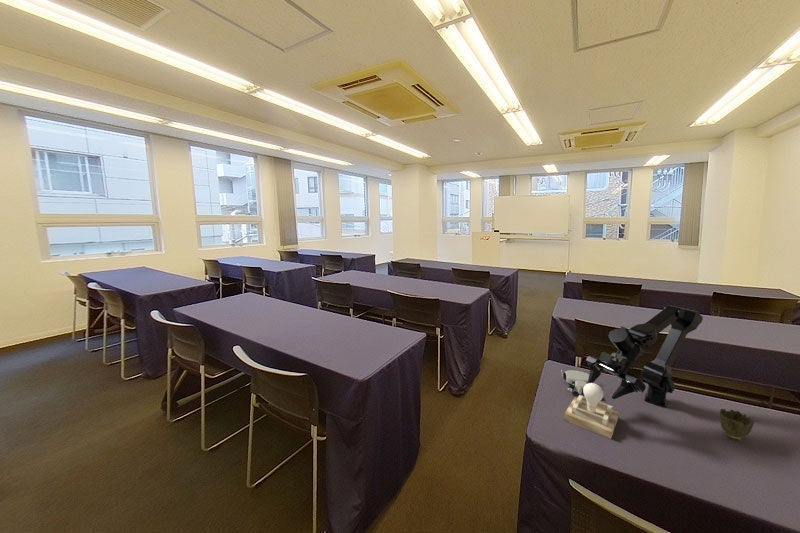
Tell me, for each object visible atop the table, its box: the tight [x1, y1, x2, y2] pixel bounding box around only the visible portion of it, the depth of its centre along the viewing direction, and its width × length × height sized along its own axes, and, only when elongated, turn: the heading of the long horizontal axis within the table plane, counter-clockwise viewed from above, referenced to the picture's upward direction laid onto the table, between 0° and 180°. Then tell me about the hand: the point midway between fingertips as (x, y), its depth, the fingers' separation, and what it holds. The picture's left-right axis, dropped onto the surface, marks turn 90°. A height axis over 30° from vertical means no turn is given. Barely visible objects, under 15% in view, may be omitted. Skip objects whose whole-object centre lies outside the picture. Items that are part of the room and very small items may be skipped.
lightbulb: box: [583, 382, 605, 413], centre depth 107 cm, size 6×6×11 cm
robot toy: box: [560, 369, 595, 396], centre depth 128 cm, size 12×4×15 cm
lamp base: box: [563, 394, 620, 440], centre depth 108 cm, size 14×14×5 cm
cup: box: [719, 408, 755, 442], centre depth 98 cm, size 8×7×8 cm
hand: (599, 391), depth 108 cm, fingers open, 9 cm apart
